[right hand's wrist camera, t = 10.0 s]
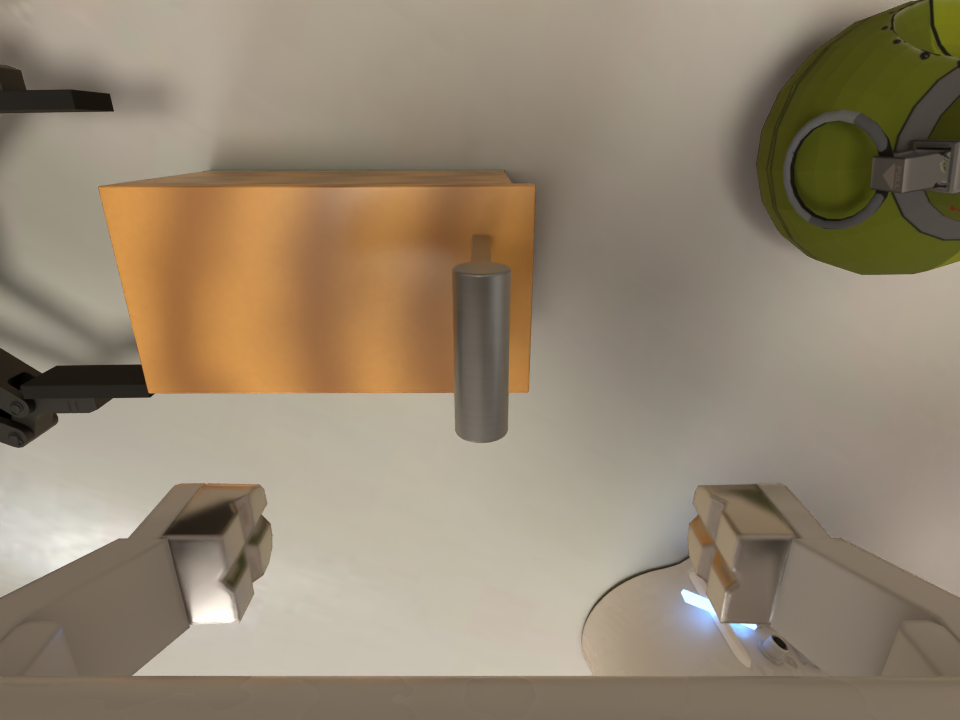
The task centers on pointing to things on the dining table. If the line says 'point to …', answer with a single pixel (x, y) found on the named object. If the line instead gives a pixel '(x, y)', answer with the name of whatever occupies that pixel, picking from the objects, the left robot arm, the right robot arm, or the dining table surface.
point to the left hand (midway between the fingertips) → (132, 253)
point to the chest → (335, 177)
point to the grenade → (871, 145)
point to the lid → (331, 289)
